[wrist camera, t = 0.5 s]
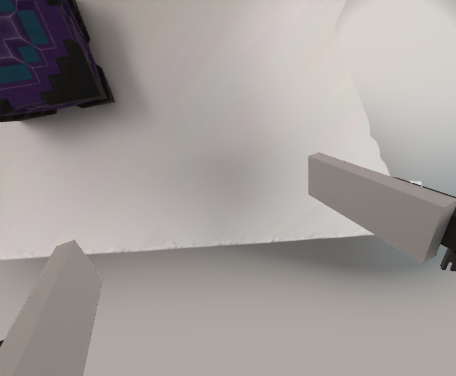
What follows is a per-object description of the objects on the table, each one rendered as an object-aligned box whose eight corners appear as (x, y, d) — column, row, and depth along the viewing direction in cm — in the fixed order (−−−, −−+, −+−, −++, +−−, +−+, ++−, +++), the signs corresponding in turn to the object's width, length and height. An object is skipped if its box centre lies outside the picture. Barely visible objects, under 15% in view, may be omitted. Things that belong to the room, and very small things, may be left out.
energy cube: (74, -2, 25) (27, -82, 15) (115, 101, 30) (101, 95, 20) (-49, 7, 22) (-217, -87, 12) (19, 120, 27) (-58, 125, 17)
